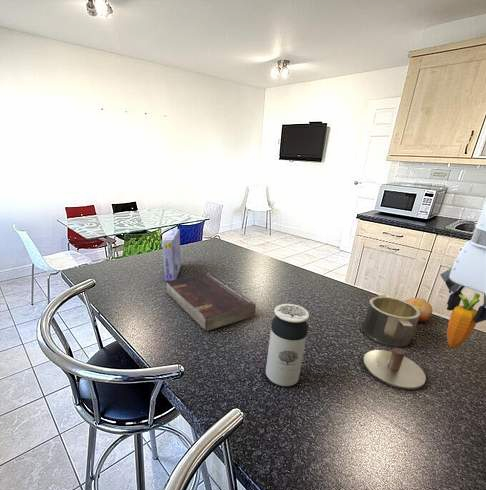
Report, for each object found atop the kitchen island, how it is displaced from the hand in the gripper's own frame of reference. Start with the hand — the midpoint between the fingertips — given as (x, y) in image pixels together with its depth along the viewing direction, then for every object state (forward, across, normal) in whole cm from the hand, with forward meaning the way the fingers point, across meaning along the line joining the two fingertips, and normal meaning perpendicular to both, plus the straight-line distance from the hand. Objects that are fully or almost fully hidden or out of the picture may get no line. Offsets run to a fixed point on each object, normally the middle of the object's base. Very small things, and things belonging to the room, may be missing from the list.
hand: (465, 314), depth 68 cm
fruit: (+17, +20, -17) cm, 31 cm away
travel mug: (+16, +13, +39) cm, 45 cm away
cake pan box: (+15, +84, +47) cm, 97 cm away
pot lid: (+16, +5, +12) cm, 20 cm away
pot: (+17, +17, -1) cm, 24 cm away
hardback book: (+16, +53, +43) cm, 70 cm away
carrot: (+10, 0, 0) cm, 10 cm away
